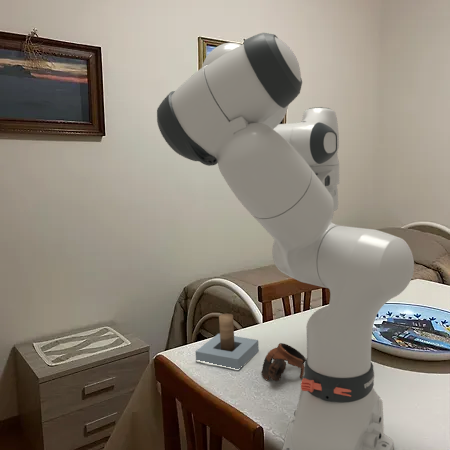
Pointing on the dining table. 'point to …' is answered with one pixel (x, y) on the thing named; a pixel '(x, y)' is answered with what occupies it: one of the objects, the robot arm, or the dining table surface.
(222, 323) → the peg
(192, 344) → the dining table surface
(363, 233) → the robot arm
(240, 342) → the socket block
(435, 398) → the dining table surface
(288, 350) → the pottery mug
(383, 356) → the dining table surface
